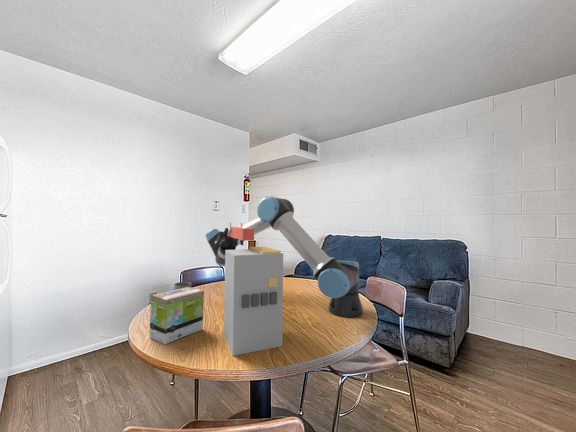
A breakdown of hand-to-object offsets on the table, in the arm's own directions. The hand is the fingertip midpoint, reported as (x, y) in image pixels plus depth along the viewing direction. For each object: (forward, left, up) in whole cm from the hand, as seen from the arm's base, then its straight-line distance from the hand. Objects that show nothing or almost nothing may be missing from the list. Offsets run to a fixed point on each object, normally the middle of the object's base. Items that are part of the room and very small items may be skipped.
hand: (236, 225), depth 107 cm
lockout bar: (-4, +5, -5) cm, 8 cm away
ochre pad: (-19, +11, -8) cm, 24 cm away
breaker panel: (-16, +14, -38) cm, 44 cm away
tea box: (+11, +20, -39) cm, 45 cm away
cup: (+33, -5, -39) cm, 51 cm away
